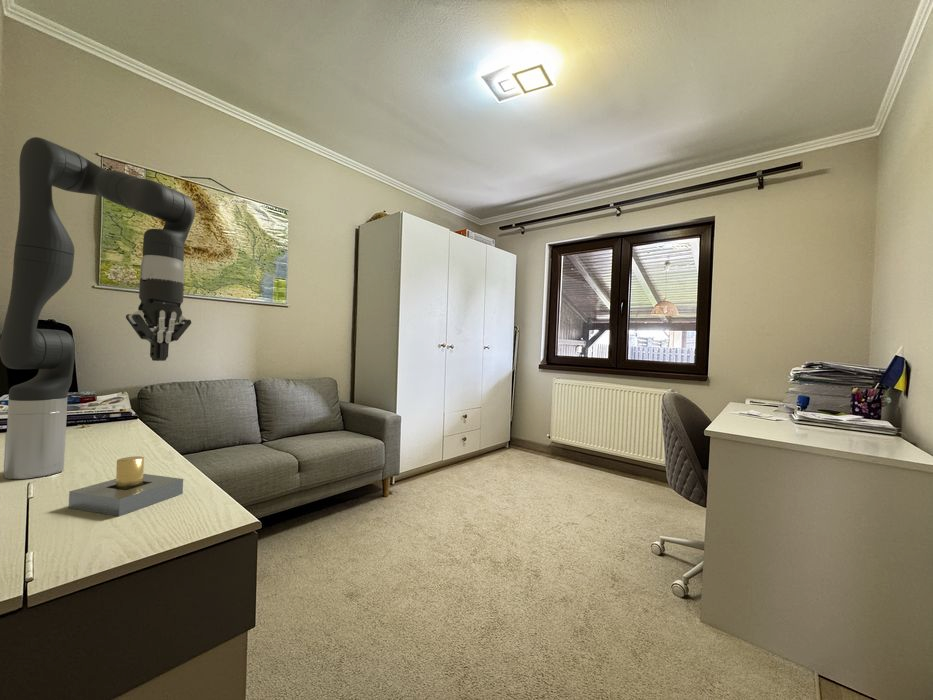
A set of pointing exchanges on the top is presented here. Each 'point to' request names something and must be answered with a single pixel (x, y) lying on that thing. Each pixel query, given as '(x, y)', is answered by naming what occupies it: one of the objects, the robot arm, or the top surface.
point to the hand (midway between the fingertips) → (158, 360)
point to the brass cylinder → (129, 472)
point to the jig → (124, 495)
